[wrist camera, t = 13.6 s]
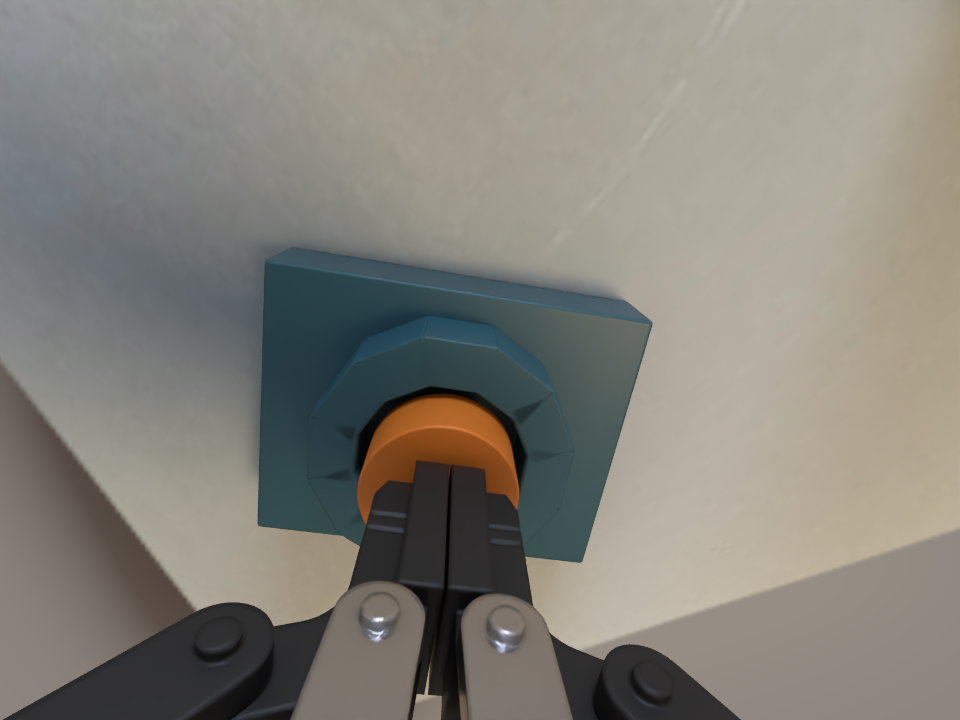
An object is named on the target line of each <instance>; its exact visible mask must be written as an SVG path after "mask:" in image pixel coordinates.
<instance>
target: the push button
mask: <svg viewBox="0 0 960 720" xmlns="http://www.w3.org/2000/svg"><path fill="white" fill-rule="evenodd" d="M416 460H420V461H428V462H435V463H443V464H449V474H450V469H451V465H460V466H467V467H475V468H483V469H485V477H486V491H487V492H488V493H496V494H504V495H506V496H507V497H508V498H509V500H510V501H511V502H512V504H513V505H514V507H515V508H516V509H517V508H518V502H519V485H518V479H517V474H516V468H515V463H514V457H513V452H512V446H511V442H510V439H509V436H508V434H507V432H506V430H505V428H504V426H503V425H502V423H501V422H500V420H499V419H498V418H497V417H496V416H495V415H494V414H493V413H492V412H491V411H490V410H488V409H487V408H486V407H484V406H483V405H481V404H479V403H477V402H475V401H473V400H471V399H468V398H465V397H462V396H458V395H453V394H443V393H441V394H429V395H423V396H419V397H416V398H413V399H410V400H408V401H406V402H404V403H402V404H400V405H399V406H397V407H395V408H394V409H393V410H392V411H390V412H389V413H388V414H387V415H386V416H385V417H384V418H383V420H382V421H381V422H380V424H379V425H378V427H377V429H376V430H375V432H374V435H373V437H372V440H371V443H370V446H369V449H368V452H367V455H366V458H365V462H364V465H363V468H362V471H361V474H360V477H359V481H358V487H357V499H358V506H359V509H360V513H361V515H362V518H363V520H364V522H365V524H366V523H367V519H368V516H369V513H370V508H371V505H372V501H373V497H374V494H375V493H376V492H377V491H378V490H379V489H380V488H381V487H382V486H383V485H384V484H385V483H386V482H387V481H388V480H391V481H399V482H407V483H413V479H414V473H415V466H416Z"/></svg>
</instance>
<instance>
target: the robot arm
mask: <svg viewBox="0 0 960 720" xmlns="http://www.w3.org/2000/svg"><path fill="white" fill-rule="evenodd" d="M520 529H521V528H520V522H519V515H518V511H517V509H516V508H515V507H514V505H513V504H512V502H511V501H510V500H509V498H508V497H507V496H506V495H504V494H496V493H488V492H487V491H486V477H485V469H483V468H475V467H467V466H460V465H451V469H450V474H449V464H443V463H435V462H428V461H420V460H416V466H415V473H414V479H413V483H407V482H399V481H391V480H388V481H387V482H386V483H385V484H384V485H383V486H382V487H381V488H380V489H379V490H378V491H377V492H376V493H375V494H374V497H373V501H372V505H371V508H370V513H369V516H368V519H367V523H366V528H365V531H364V534H363V538H362V542H361V545H360V549H359V553H358V556H357V560H356V564H355V567H354V571H353V575H352V579H351V582H350V585H349V588H348V591H347V592H345V593H344V594H343V595H342V596H341V597H340V599H339V600H338V601H337V603H336V605H335V606H334V607H333V608H332V609H330V610H329V611H327V612H326V613H324V614H322V615H320V616H318V617H315V618H312V619H309V620H305V621H301V622H296V623H290V624H285V625H279V626H273V624H272V622H271V620H270V618H269V617H268V616H267V615H266V613H264V612H263V611H262V610H261V609H259V608H257V607H255V606H252V605H249V604H245V603H230V602H229V603H221V604H216V605H212V606H209V607H206V608H203V609H201V610H199V611H197V612H195V613H193V614H191V615H189V616H187V617H185V618H184V619H182V620H180V621H178V622H177V623H175V624H173V625H171V626H169V627H168V628H166V629H164V630H162V631H160V632H159V633H157V634H155V635H153V636H152V637H150V638H148V639H146V640H144V641H143V642H141V643H139V644H137V645H136V646H134V647H132V648H130V649H128V650H127V651H125V652H123V653H121V654H119V655H118V656H116V657H114V658H112V659H111V660H109V661H107V662H105V663H103V664H102V665H100V666H98V667H96V668H94V669H93V670H91V671H89V672H87V673H86V674H84V675H82V676H80V677H78V678H77V679H75V680H73V681H71V682H70V683H68V684H66V685H64V686H62V687H60V688H59V689H57V690H55V691H53V692H51V693H50V694H48V695H46V696H44V697H43V698H41V699H39V700H37V701H35V702H34V703H32V704H30V705H28V706H26V707H25V708H23V709H21V710H19V711H18V712H16V713H14V714H12V715H10V716H9V717H7V718H5V719H3V720H412V717H413V711H414V706H415V700H416V694H423V695H424V692H425V687H426V682H427V676H428V671H429V665H430V673H429V688H428V695H437V696H442V711H441V720H740V719H739V718H738V717H737V716H736V715H735V714H734V713H732V712H731V711H730V710H729V709H728V708H727V707H725V706H724V705H723V704H722V703H721V702H720V701H718V700H717V699H716V698H715V697H714V696H713V695H711V694H710V693H709V692H708V691H707V690H706V689H704V688H703V687H702V686H701V685H700V684H699V683H698V682H696V681H695V680H694V679H693V678H691V676H689V675H688V674H687V673H686V672H685V671H684V670H682V669H681V668H680V667H679V666H678V665H676V664H675V663H674V662H673V661H672V660H670V659H669V658H668V657H666V656H664V655H663V654H661V653H659V652H657V651H655V650H653V649H651V648H648V647H644V646H640V645H630V644H629V645H622V646H619V647H616V648H615V649H613V650H611V652H609V654H607V656H606V658H605V660H601V659H599V658H596V657H594V656H591V655H589V654H586V653H584V652H581V651H579V650H576V649H574V648H572V647H570V646H568V645H566V644H564V643H563V642H561V641H559V640H558V639H557V638H555V637H554V636H553V635H552V634H551V633H550V632H549V629H548V627H547V624H546V622H545V620H544V618H543V617H542V616H541V614H540V613H539V612H538V611H537V610H536V609H535V608H534V607H533V603H532V596H531V590H530V584H529V578H528V572H527V565H526V559H525V553H524V547H523V540H522V534H521V532H520Z"/></svg>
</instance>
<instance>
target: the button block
mask: <svg viewBox="0 0 960 720" xmlns="http://www.w3.org/2000/svg"><path fill="white" fill-rule="evenodd" d="M651 328H652V321H650V320H649V319H648V318H647V317H645V316H644V315H643V314H642V313H641V312H639V311H638V310H637V309H636V308H634V307H633V306H632V305H631V304H629V303H628V302H625V301H618V300H612V299H606V298H600V297H594V296H588V295H582V294H575V293H569V292H563V291H557V290H551V289H545V288H538V287H532V286H526V285H520V284H514V283H508V282H502V281H495V280H489V279H483V278H477V277H471V276H465V275H458V274H452V273H446V272H440V271H434V270H428V269H422V268H415V267H409V266H403V265H397V264H391V263H385V262H379V261H372V260H366V259H360V258H354V257H348V256H342V255H335V254H329V253H323V252H317V251H311V250H305V249H299V248H291V249H289V250H287V251H284V252H282V253H280V254H278V255H276V256H274V257H272V258H270V259H267V260H266V261H265V275H264V310H263V346H262V382H261V418H260V454H259V490H258V526H262V527H271V528H279V529H288V530H297V531H306V532H315V533H323V534H332V535H341V536H344V537H345V538H347V539H349V540H350V541H352V542H354V543H355V544H357V545H359V546H360V545H361V542H362V538H363V534H364V531H365V528H366V524H365V522H364V520H363V518H362V515H361V513H360V509H359V506H358V499H357V487H358V481H359V477H360V474H361V471H362V468H363V465H364V462H365V458H366V455H367V452H368V449H369V446H370V443H371V440H372V437H373V435H374V432H375V430H376V429H377V427H378V425H379V424H380V422H381V421H382V420H383V418H384V417H385V416H386V415H387V414H388V413H389V412H390V411H392V410H393V409H394V408H395V407H397V406H399V405H400V404H402V403H404V402H406V401H408V400H410V399H413V398H416V397H419V396H423V395H429V394H441V393H443V394H453V395H458V396H462V397H465V398H468V399H471V400H473V401H475V402H477V403H479V404H481V405H483V406H484V407H486V408H487V409H488V410H490V411H491V412H492V413H493V414H494V415H495V416H496V417H497V418H498V419H499V420H500V422H501V423H502V425H503V426H504V428H505V430H506V432H507V434H508V436H509V439H510V442H511V446H512V452H513V457H514V463H515V468H516V474H517V479H518V485H519V502H518V508H517V511H518V515H519V522H520V528H521V529H520V532H521V534H522V540H523V547H524V553H525V556H526V557H534V558H543V559H552V560H561V561H569V562H578V563H581V562H582V561H583V557H584V554H585V551H586V547H587V544H588V541H589V537H590V534H591V530H592V527H593V524H594V520H595V517H596V513H597V510H598V507H599V503H600V500H601V497H602V493H603V490H604V486H605V483H606V480H607V476H608V473H609V470H610V466H611V463H612V459H613V456H614V453H615V449H616V446H617V442H618V439H619V436H620V432H621V429H622V426H623V422H624V419H625V415H626V412H627V409H628V405H629V402H630V399H631V395H632V392H633V388H634V385H635V382H636V378H637V375H638V371H639V368H640V365H641V361H642V358H643V355H644V351H645V348H646V344H647V341H648V338H649V334H650V331H651Z"/></svg>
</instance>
